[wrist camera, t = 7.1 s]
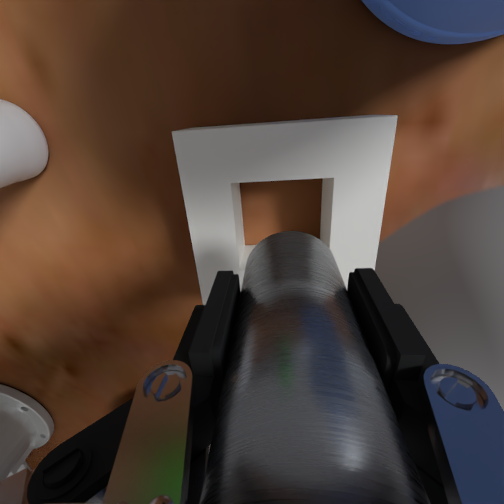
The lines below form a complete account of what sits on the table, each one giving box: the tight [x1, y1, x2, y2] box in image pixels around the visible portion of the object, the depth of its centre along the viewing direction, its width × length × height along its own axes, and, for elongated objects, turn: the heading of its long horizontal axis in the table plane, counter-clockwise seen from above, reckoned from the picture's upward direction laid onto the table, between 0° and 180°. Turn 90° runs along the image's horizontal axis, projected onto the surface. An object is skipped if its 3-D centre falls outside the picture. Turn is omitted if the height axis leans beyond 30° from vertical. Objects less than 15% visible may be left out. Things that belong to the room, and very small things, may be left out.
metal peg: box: [199, 231, 431, 504], centre depth 8 cm, size 4×4×10 cm
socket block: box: [172, 115, 398, 305], centre depth 19 cm, size 12×12×4 cm
